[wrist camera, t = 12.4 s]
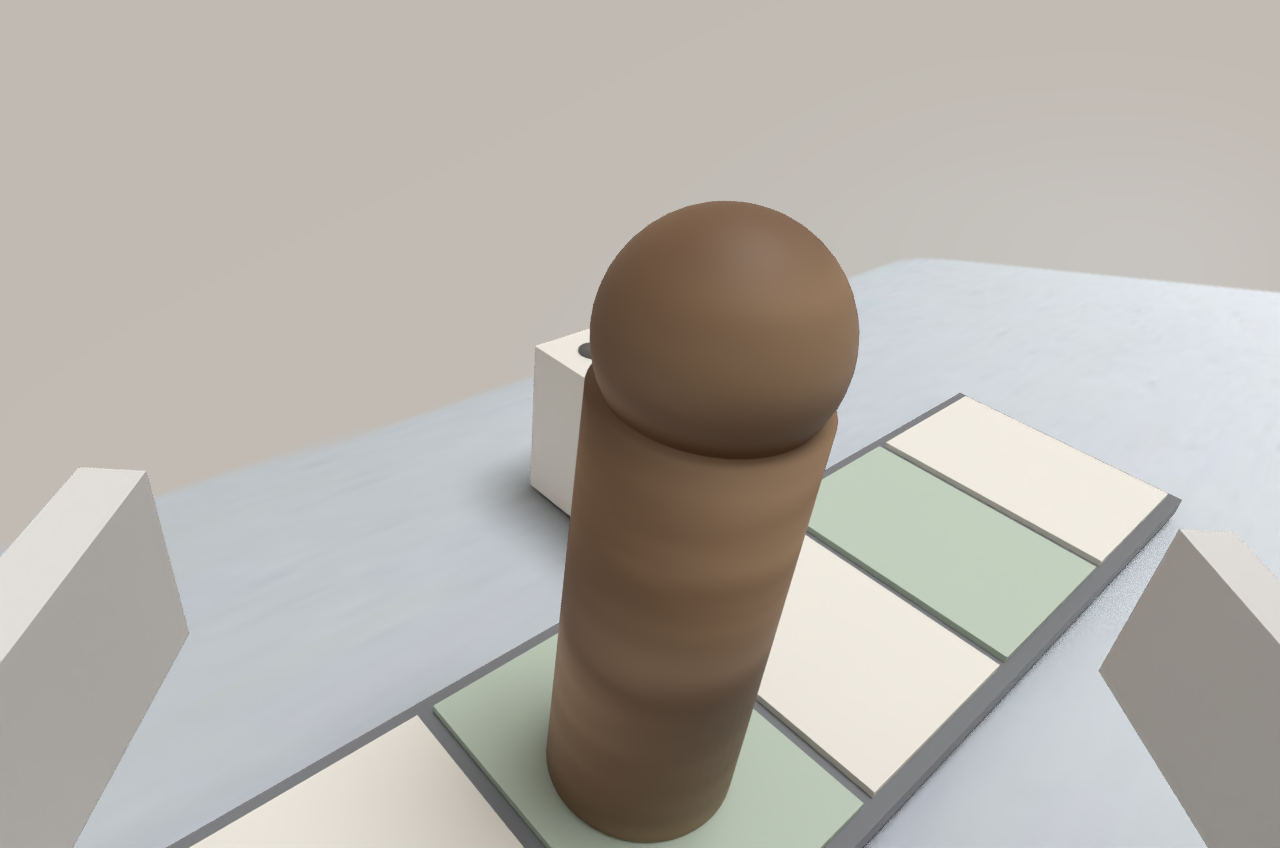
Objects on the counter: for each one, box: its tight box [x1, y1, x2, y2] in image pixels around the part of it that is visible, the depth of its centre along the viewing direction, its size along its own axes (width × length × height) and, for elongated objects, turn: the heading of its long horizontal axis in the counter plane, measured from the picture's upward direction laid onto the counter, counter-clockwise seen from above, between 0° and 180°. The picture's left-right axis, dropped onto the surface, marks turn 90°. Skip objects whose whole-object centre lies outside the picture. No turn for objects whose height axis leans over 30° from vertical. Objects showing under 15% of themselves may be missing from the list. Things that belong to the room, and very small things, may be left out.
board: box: [167, 393, 1182, 848], centre depth 22 cm, size 8×30×1 cm, turn 133°
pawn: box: [546, 201, 859, 842], centre depth 15 cm, size 4×4×12 cm
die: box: [530, 329, 592, 516], centre depth 26 cm, size 5×5×5 cm
